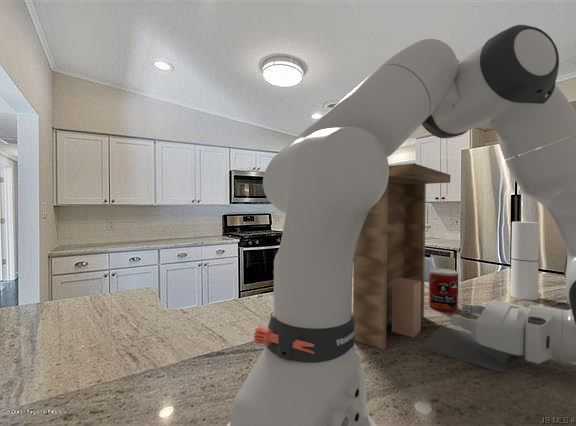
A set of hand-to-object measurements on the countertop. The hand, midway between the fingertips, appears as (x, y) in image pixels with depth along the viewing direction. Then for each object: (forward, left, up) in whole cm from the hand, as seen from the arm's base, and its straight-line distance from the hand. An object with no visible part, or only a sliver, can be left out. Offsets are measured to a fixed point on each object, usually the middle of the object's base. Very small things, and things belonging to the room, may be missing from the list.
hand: (457, 312), depth 66 cm
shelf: (+2, +11, -7) cm, 13 cm away
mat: (0, -2, -7) cm, 7 cm away
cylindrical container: (+53, -17, -7) cm, 56 cm away
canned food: (+26, +5, -7) cm, 27 cm away
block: (+2, +11, -7) cm, 13 cm away
